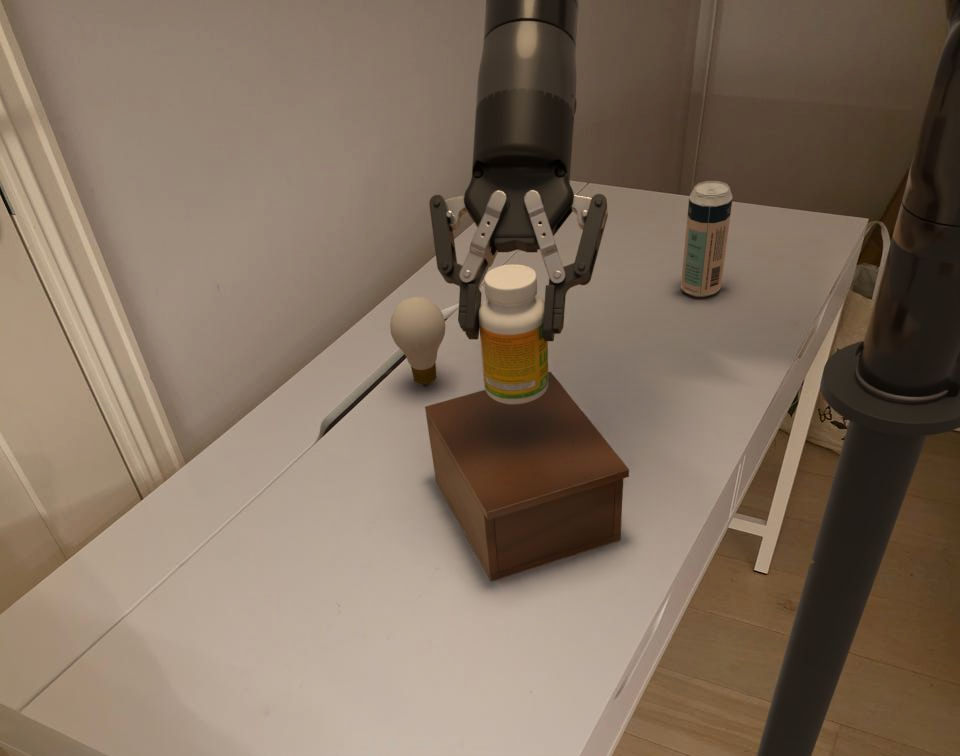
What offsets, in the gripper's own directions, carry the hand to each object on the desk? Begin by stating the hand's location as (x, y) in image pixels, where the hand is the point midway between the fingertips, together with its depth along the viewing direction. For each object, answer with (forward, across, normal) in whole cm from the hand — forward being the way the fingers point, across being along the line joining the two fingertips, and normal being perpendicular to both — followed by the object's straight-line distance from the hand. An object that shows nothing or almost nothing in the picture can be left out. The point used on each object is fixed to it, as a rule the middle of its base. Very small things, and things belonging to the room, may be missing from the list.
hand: (510, 337), depth 68 cm
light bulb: (-2, -14, +29) cm, 32 cm away
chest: (+12, 0, +14) cm, 19 cm away
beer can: (-18, +16, +45) cm, 51 cm away
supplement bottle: (+3, 0, +5) cm, 6 cm away
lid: (+7, 0, +9) cm, 11 cm away
